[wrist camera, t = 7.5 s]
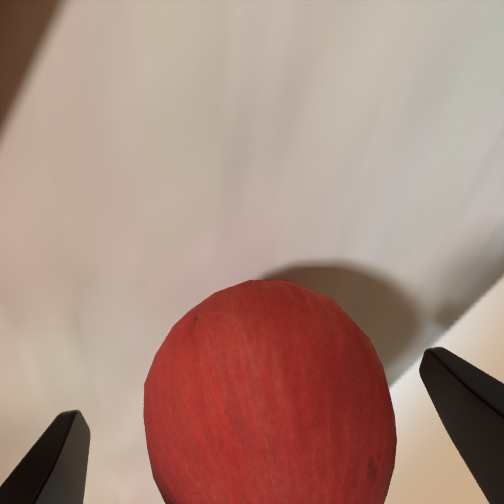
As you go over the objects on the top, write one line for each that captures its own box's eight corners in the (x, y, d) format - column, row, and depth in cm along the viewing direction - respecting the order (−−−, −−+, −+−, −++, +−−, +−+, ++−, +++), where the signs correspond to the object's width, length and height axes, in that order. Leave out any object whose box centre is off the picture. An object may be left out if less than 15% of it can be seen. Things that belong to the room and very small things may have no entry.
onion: (337, 332, 13) (500, 638, 6) (196, 381, 13) (209, 733, 6) (307, 201, 10) (568, 530, 3) (123, 265, 10) (-5, 718, 3)
